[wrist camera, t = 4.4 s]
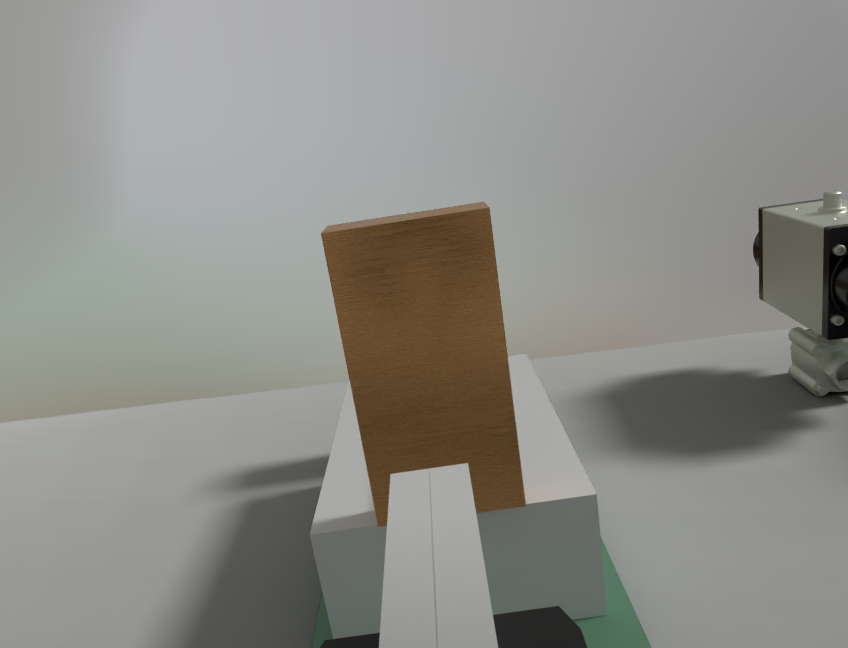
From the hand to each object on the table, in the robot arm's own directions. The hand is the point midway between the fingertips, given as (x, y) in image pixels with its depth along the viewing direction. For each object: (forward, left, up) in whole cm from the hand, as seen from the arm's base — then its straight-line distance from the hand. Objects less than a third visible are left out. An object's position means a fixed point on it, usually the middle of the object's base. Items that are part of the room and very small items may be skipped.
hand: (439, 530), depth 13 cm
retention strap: (-11, -11, -5) cm, 16 cm away
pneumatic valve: (-37, -2, -12) cm, 39 cm away
